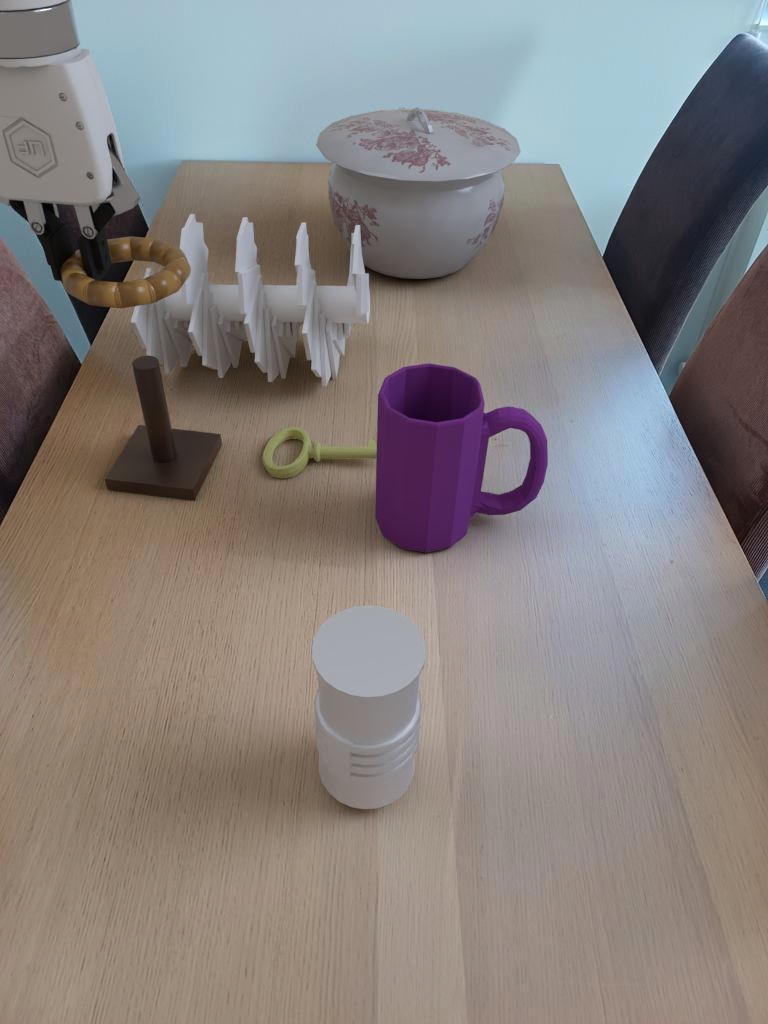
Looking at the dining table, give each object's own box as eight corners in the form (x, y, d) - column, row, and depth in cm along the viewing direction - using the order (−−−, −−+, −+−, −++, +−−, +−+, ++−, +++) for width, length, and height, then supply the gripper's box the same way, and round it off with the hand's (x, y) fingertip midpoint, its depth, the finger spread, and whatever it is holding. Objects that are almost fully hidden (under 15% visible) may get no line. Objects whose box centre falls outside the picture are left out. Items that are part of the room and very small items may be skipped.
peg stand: (107, 490, 80) (77, 383, 71) (141, 435, 86) (117, 332, 78) (195, 500, 79) (175, 394, 70) (222, 445, 85) (207, 341, 77)
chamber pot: (450, 323, 105) (464, 160, 91) (282, 269, 116) (271, 115, 102) (536, 246, 123) (559, 100, 109) (384, 206, 133) (387, 67, 119)
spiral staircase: (181, 370, 103) (375, 374, 101) (128, 390, 86) (360, 395, 84) (171, 218, 98) (376, 220, 96) (113, 208, 81) (360, 210, 79)
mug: (373, 490, 81) (376, 362, 70) (526, 489, 81) (551, 361, 71) (376, 556, 74) (380, 424, 64) (543, 554, 75) (573, 423, 64)
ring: (43, 305, 66) (36, 282, 64) (95, 250, 73) (90, 228, 72) (165, 317, 64) (161, 294, 63) (206, 260, 72) (203, 239, 71)
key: (385, 467, 83) (385, 451, 82) (265, 482, 81) (264, 465, 80) (371, 426, 88) (371, 410, 87) (259, 439, 86) (257, 423, 85)
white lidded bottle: (298, 793, 57) (286, 664, 46) (352, 721, 61) (352, 588, 51) (381, 844, 54) (387, 719, 44) (431, 765, 58) (447, 634, 48)
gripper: (-117, 37, 55) (-28, 287, 67) (109, 51, 53) (157, 304, 66) (-56, 13, 60) (16, 248, 73) (150, 25, 58) (187, 264, 71)
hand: (82, 273), depth 69 cm, fingers closed on ring, 2 cm apart
